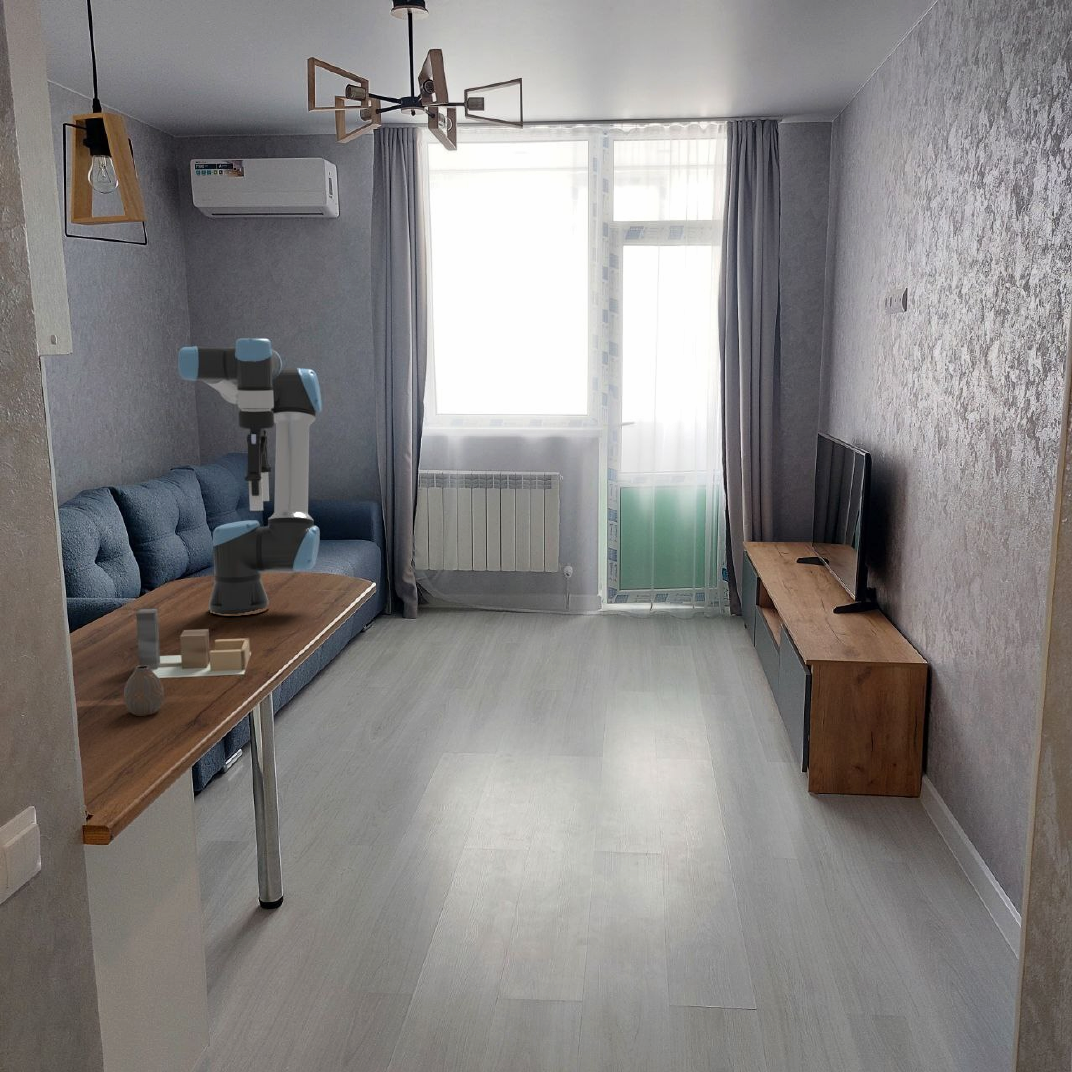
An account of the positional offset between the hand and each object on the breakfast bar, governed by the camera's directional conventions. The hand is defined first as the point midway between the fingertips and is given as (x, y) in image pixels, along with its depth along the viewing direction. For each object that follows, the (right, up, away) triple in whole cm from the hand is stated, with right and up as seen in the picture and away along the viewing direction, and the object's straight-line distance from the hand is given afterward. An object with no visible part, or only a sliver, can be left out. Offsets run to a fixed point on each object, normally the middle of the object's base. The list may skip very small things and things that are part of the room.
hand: (259, 505), depth 223 cm
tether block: (-14, -34, -13) cm, 39 cm away
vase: (-11, -40, -38) cm, 56 cm away
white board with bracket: (-11, -35, -12) cm, 39 cm away
